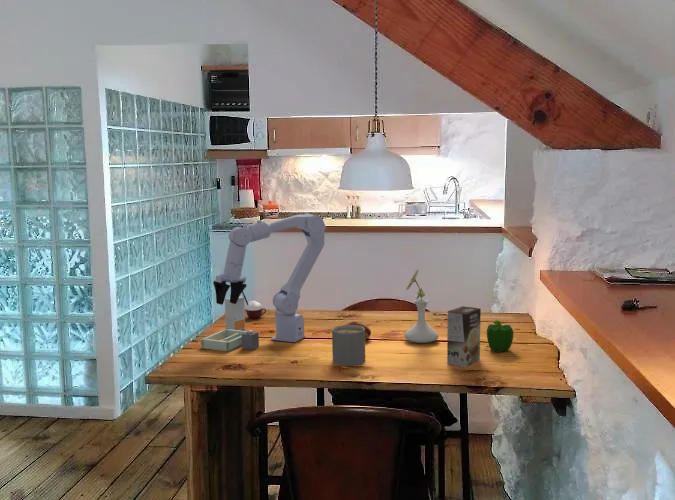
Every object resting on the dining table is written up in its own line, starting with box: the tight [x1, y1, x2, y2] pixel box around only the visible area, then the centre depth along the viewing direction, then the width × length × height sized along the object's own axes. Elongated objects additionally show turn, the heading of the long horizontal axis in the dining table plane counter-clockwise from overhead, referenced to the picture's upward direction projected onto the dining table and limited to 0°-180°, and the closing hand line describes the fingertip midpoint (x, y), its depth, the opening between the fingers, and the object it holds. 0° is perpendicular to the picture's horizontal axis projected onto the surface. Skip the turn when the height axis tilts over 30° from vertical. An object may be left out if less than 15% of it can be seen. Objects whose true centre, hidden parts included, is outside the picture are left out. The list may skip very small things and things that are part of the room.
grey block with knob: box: [241, 329, 260, 351], centre depth 217 cm, size 4×4×6 cm
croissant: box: [343, 320, 372, 341], centre depth 224 cm, size 21×10×8 cm, turn 166°
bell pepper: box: [486, 319, 514, 353], centre depth 208 cm, size 8×8×10 cm
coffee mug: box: [331, 324, 366, 367], centre depth 202 cm, size 13×10×10 cm
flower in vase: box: [404, 268, 440, 344], centre depth 218 cm, size 13×11×25 cm
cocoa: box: [241, 290, 267, 320], centre depth 257 cm, size 10×6×12 cm, turn 84°
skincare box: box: [224, 295, 246, 331], centre depth 239 cm, size 6×4×12 cm
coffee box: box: [446, 305, 482, 368], centre depth 196 cm, size 9×6×16 cm
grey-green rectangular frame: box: [200, 328, 247, 353], centre depth 222 cm, size 11×14×3 cm
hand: (226, 303), depth 218 cm, fingers open, 7 cm apart
